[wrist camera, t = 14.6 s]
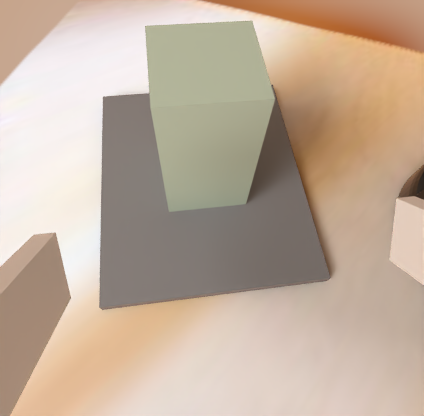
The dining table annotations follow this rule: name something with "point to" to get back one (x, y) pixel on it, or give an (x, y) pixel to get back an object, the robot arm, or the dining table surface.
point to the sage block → (207, 110)
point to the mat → (197, 221)
